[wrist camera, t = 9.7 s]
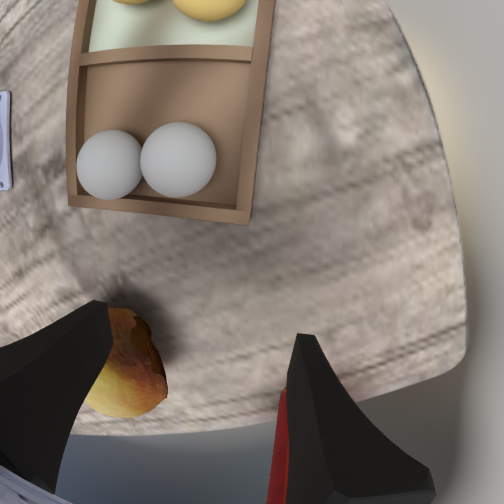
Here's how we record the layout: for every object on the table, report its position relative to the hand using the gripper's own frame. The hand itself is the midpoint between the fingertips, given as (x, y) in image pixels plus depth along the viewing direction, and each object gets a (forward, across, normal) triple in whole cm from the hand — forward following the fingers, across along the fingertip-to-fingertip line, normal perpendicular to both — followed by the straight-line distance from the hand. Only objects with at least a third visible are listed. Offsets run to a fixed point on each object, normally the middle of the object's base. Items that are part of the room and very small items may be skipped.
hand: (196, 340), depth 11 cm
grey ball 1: (+9, +8, -5) cm, 13 cm away
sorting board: (+10, +5, -10) cm, 15 cm away
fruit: (+10, +7, +9) cm, 15 cm away
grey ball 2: (+9, +2, -5) cm, 11 cm away
